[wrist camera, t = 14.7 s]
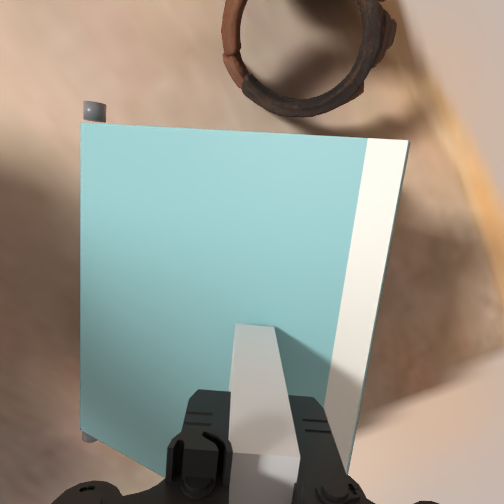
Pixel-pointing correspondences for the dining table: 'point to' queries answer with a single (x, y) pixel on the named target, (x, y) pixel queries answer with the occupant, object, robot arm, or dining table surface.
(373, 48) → the brown ring with stub
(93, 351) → the cover
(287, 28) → the dining table surface
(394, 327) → the dining table surface
